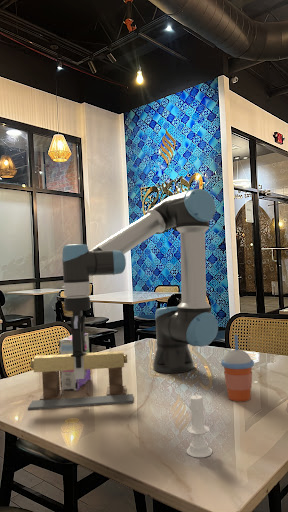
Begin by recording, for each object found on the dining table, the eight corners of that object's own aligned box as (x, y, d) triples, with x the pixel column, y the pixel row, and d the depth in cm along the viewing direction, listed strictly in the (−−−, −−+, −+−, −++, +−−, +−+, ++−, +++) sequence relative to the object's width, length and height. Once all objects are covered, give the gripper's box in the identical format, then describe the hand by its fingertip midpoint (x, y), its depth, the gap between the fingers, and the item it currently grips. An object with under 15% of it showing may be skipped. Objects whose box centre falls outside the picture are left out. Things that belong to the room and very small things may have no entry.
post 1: (63, 392, 133) (62, 359, 133) (59, 400, 125) (58, 365, 125) (44, 393, 132) (43, 360, 132) (39, 401, 124) (38, 366, 125)
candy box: (77, 391, 133) (74, 339, 133) (60, 391, 134) (57, 340, 134) (91, 379, 146) (89, 332, 147) (75, 378, 148) (73, 332, 148)
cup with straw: (237, 405, 112) (233, 339, 113) (216, 397, 120) (213, 335, 121) (262, 399, 117) (259, 335, 117) (241, 391, 125) (237, 331, 125)
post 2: (126, 388, 134) (124, 355, 134) (126, 395, 126) (124, 361, 126) (107, 389, 133) (105, 356, 134) (106, 397, 125) (104, 362, 126)
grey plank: (132, 395, 125) (132, 393, 125) (133, 402, 119) (133, 400, 119) (32, 402, 124) (32, 400, 124) (28, 409, 118) (27, 407, 118)
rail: (127, 364, 124) (126, 350, 124) (127, 366, 121) (126, 353, 121) (32, 369, 123) (32, 355, 123) (30, 372, 119) (29, 358, 119)
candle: (183, 456, 85) (180, 397, 85) (190, 445, 90) (187, 389, 90) (209, 459, 83) (206, 399, 83) (214, 447, 88) (211, 391, 88)
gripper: (67, 295, 130) (71, 370, 130) (59, 299, 114) (63, 385, 113) (91, 294, 131) (95, 368, 130) (87, 298, 114) (91, 383, 113)
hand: (80, 376), depth 122 cm, fingers closed on rail, 3 cm apart
